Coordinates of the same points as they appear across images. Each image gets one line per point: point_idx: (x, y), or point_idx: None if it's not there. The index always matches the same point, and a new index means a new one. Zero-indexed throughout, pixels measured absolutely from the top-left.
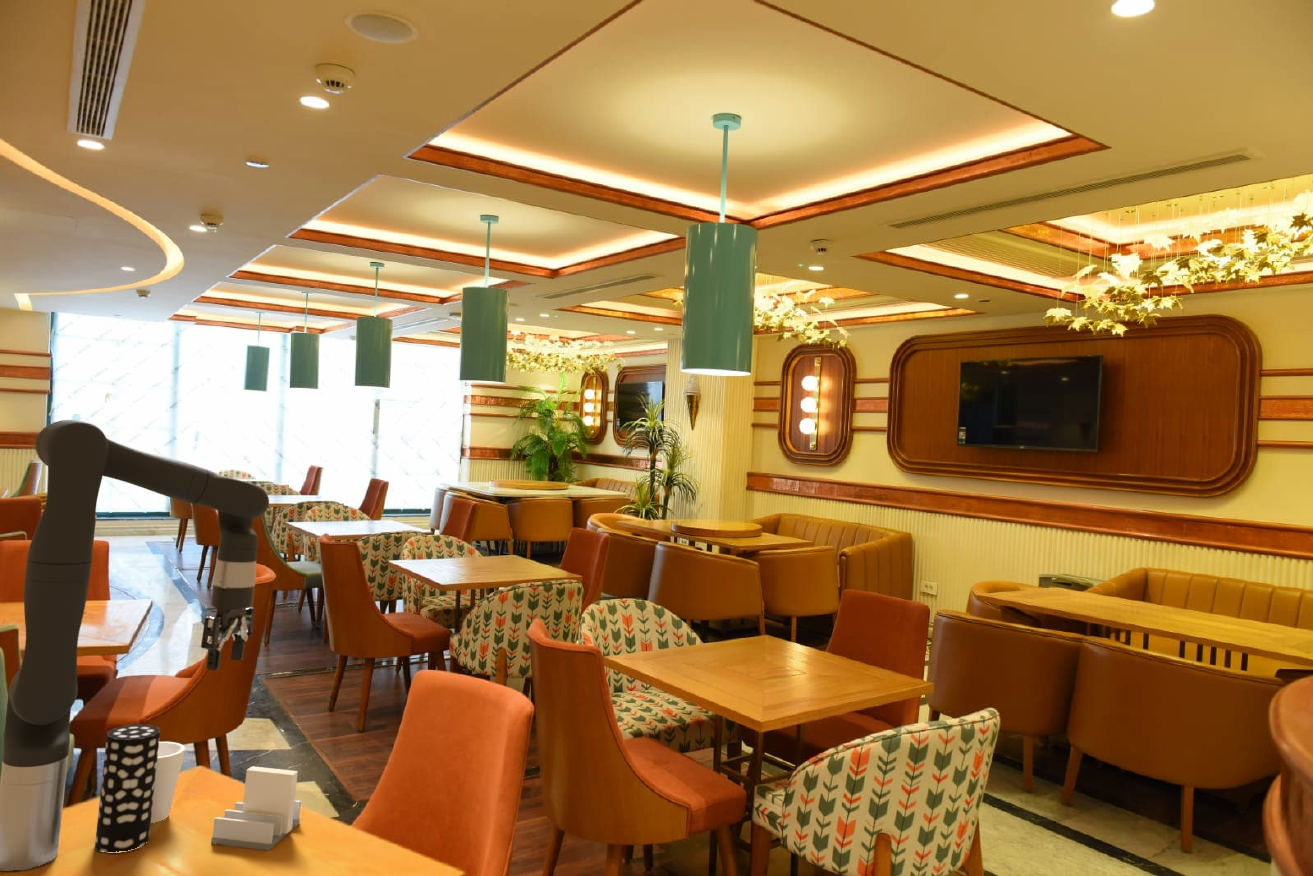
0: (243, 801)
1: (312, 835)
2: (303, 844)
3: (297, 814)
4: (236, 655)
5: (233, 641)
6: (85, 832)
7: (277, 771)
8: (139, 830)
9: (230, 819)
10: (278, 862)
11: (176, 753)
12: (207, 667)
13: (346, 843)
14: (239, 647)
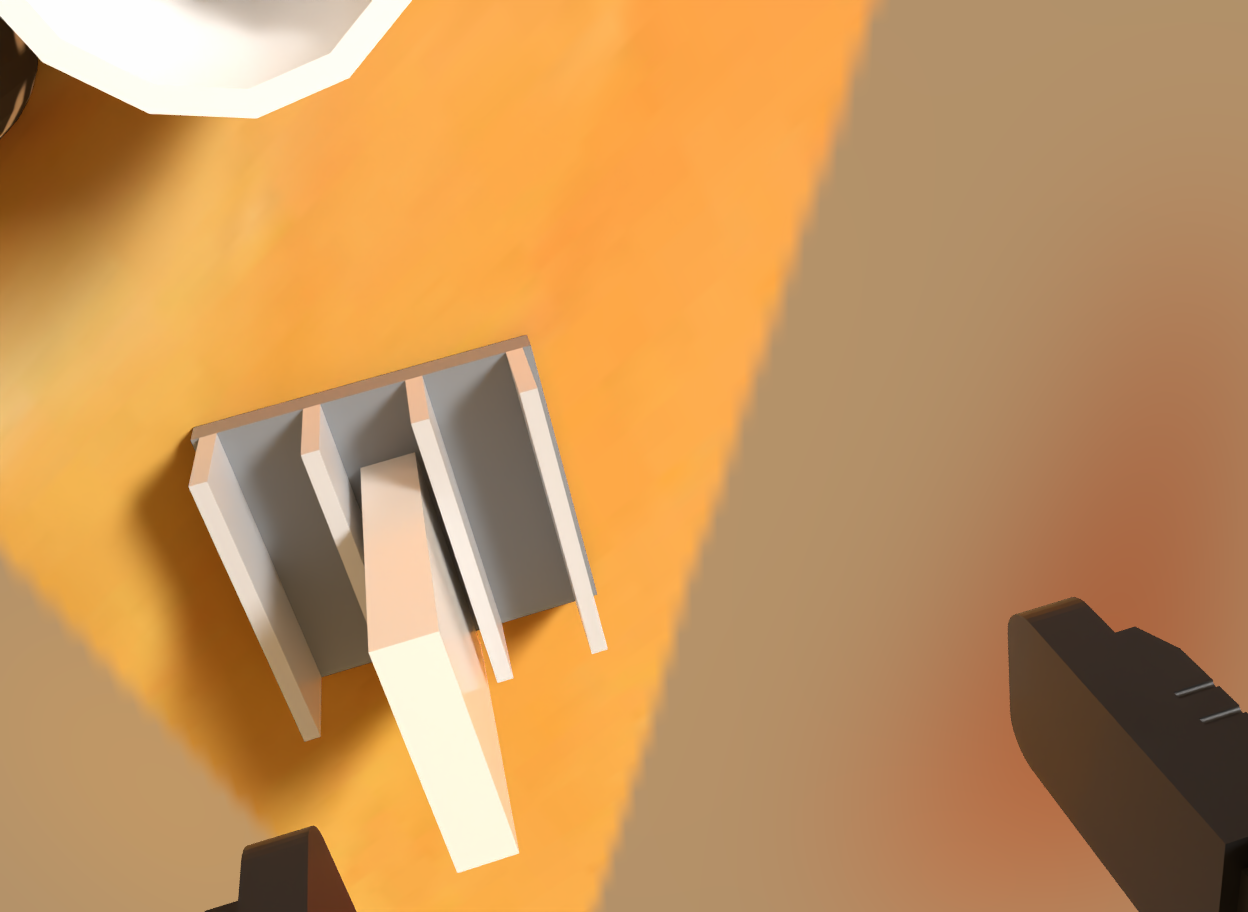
0: (364, 540)
1: (517, 697)
2: None
3: (579, 613)
4: (1051, 729)
5: (1224, 853)
6: None
7: (452, 788)
8: None
9: (228, 560)
10: (237, 763)
11: (229, 104)
12: (251, 863)
13: (522, 831)
14: (1146, 867)
